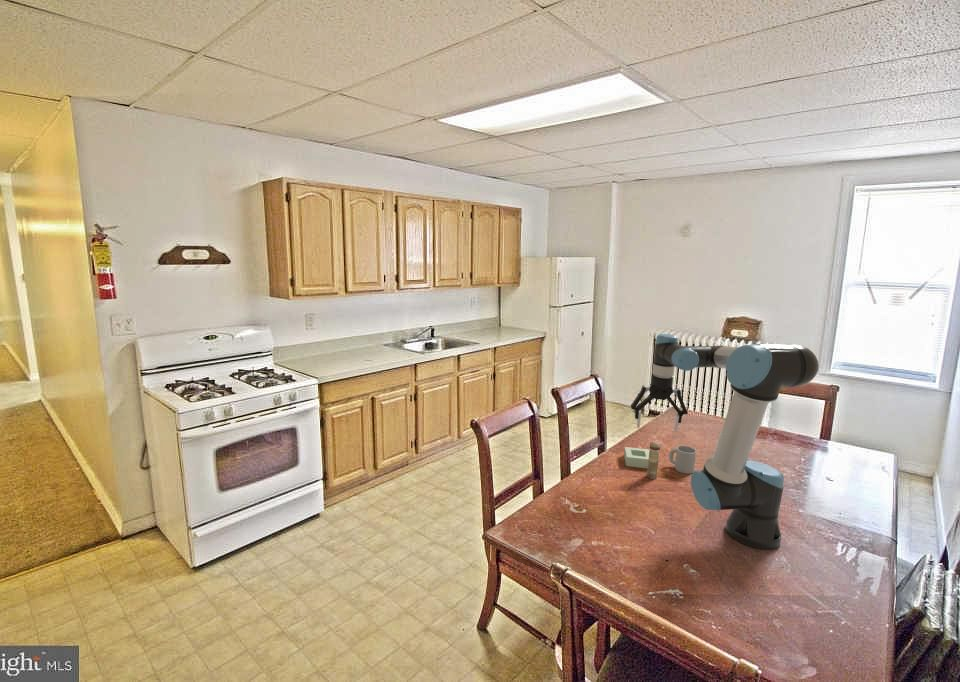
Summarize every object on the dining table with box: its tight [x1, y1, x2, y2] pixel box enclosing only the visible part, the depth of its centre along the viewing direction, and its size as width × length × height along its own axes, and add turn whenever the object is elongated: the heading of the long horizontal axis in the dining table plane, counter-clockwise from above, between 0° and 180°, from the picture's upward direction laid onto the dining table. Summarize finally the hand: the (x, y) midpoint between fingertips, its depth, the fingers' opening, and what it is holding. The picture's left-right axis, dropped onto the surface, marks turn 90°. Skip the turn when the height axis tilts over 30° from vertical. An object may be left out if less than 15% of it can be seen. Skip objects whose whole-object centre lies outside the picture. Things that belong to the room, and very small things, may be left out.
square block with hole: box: [623, 446, 650, 469], centre depth 197 cm, size 10×10×4 cm
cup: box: [668, 445, 697, 475], centre depth 192 cm, size 7×10×9 cm
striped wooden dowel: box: [646, 441, 661, 480], centre depth 184 cm, size 4×4×14 cm
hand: (656, 428), depth 182 cm, fingers open, 13 cm apart
